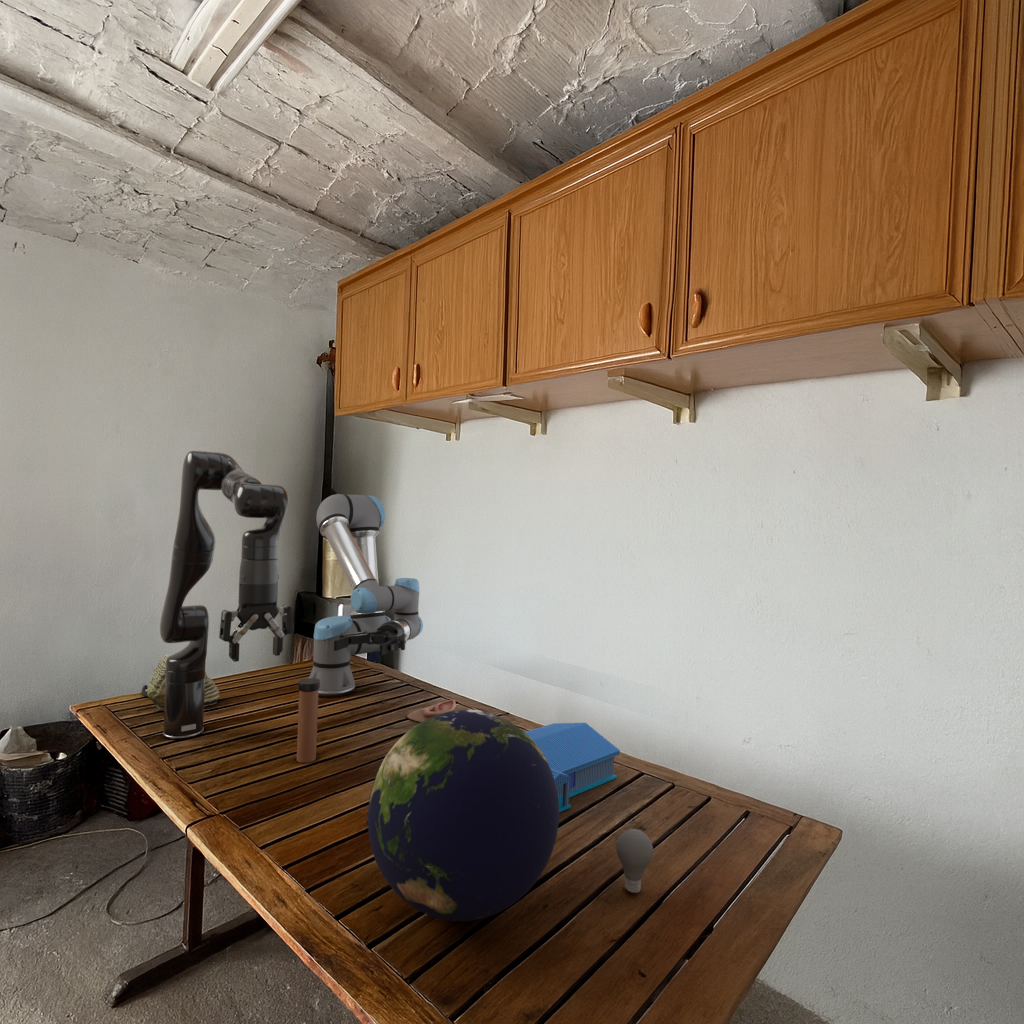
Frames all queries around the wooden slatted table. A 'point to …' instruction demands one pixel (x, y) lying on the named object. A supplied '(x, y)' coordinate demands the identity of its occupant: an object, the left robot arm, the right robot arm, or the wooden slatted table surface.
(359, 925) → the wooden slatted table surface
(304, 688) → the lid
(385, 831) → the globe
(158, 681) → the fossil
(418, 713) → the anatomical model
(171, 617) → the left robot arm
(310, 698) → the brown rounded cylinder
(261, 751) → the wooden slatted table surface
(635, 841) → the light bulb
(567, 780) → the model building
